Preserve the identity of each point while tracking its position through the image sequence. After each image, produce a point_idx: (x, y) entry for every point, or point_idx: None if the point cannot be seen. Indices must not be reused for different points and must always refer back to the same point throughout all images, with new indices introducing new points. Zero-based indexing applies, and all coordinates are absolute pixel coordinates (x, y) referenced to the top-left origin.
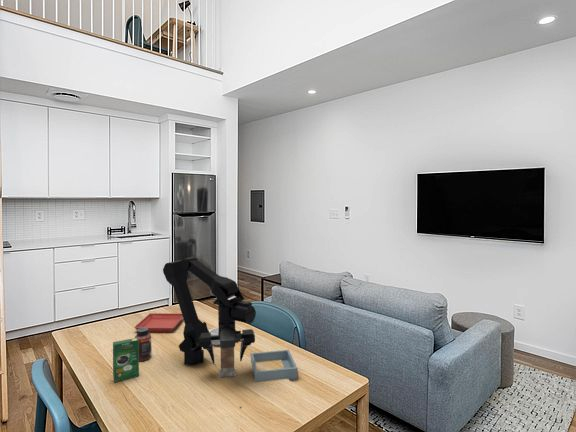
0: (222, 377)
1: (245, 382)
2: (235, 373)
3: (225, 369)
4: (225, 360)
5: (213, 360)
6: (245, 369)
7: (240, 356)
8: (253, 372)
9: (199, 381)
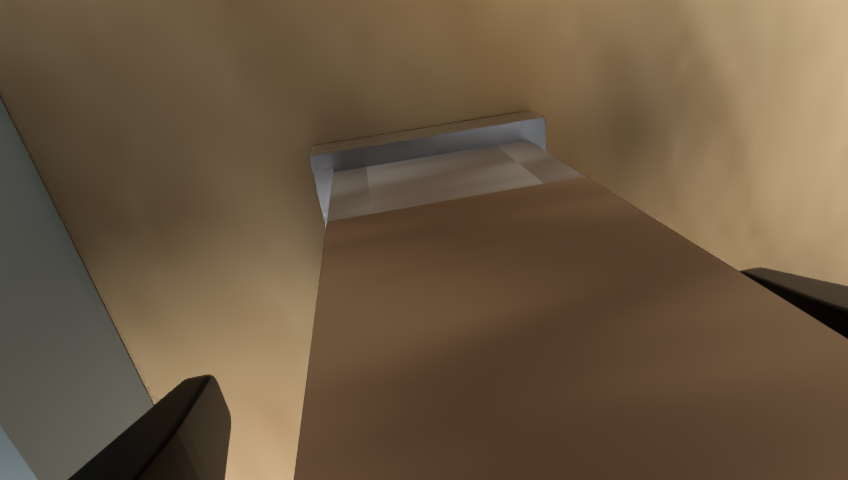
0: (506, 130)
1: (139, 43)
2: None
3: (493, 182)
4: (563, 262)
5: (822, 290)
6: (229, 373)
7: (156, 453)
8: (26, 242)
9: (772, 111)
